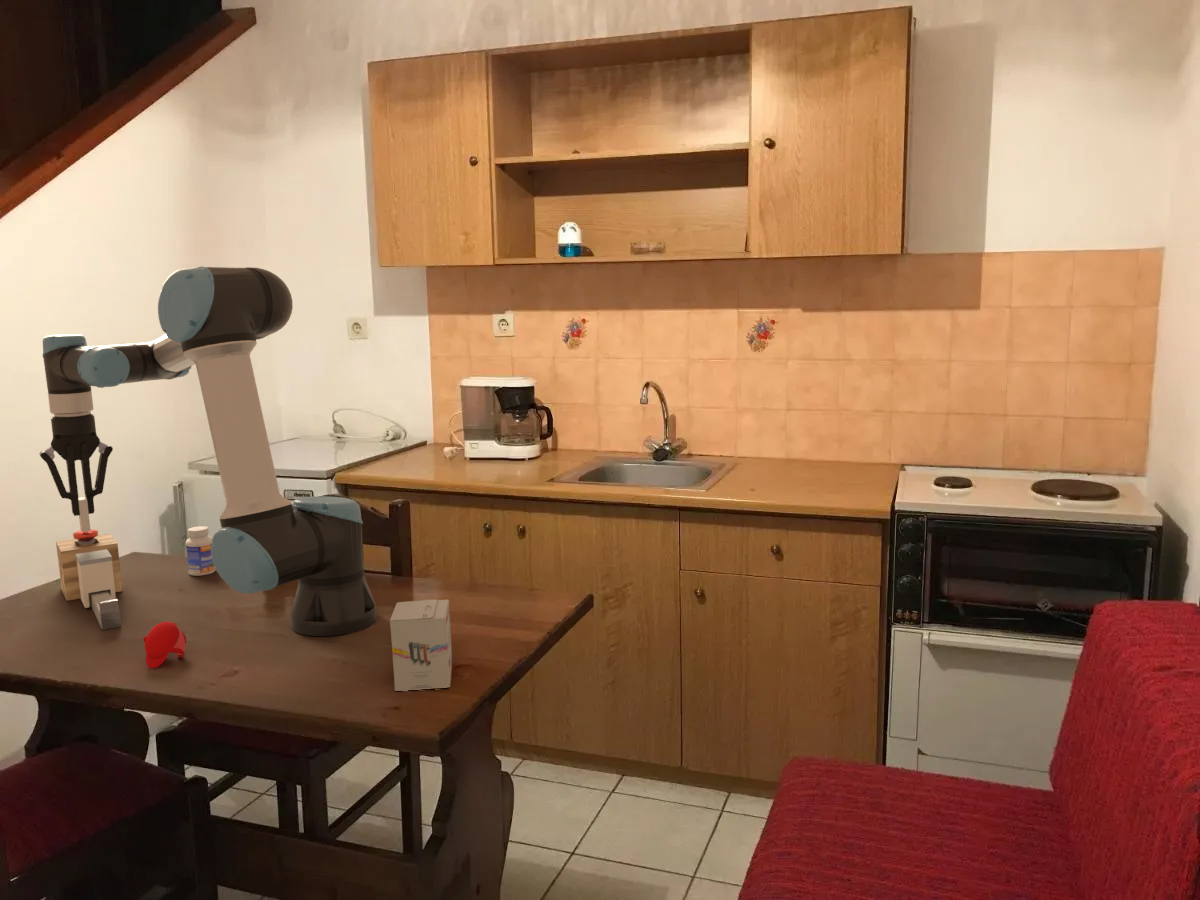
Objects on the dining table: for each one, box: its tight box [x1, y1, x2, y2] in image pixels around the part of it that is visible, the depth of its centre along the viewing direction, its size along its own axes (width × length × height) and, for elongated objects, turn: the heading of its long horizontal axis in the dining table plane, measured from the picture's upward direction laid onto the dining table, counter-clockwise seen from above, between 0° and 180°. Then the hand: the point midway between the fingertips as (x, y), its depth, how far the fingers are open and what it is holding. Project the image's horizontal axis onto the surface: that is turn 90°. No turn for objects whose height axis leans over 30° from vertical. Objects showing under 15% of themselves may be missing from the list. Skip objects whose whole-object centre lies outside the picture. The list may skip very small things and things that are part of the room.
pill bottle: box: [185, 525, 216, 577], centre depth 206 cm, size 5×5×10 cm
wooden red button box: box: [55, 533, 123, 601], centre depth 195 cm, size 9×10×10 cm
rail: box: [88, 590, 122, 631], centre depth 183 cm, size 22×3×5 cm, turn 34°
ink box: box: [389, 598, 453, 692], centre depth 150 cm, size 9×9×12 cm
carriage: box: [76, 549, 117, 609], centre depth 187 cm, size 6×6×9 cm
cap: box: [142, 621, 187, 669], centre depth 159 cm, size 8×6×6 cm
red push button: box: [72, 529, 99, 546], centre depth 194 cm, size 4×4×5 cm
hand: (85, 530), depth 193 cm, fingers closed
